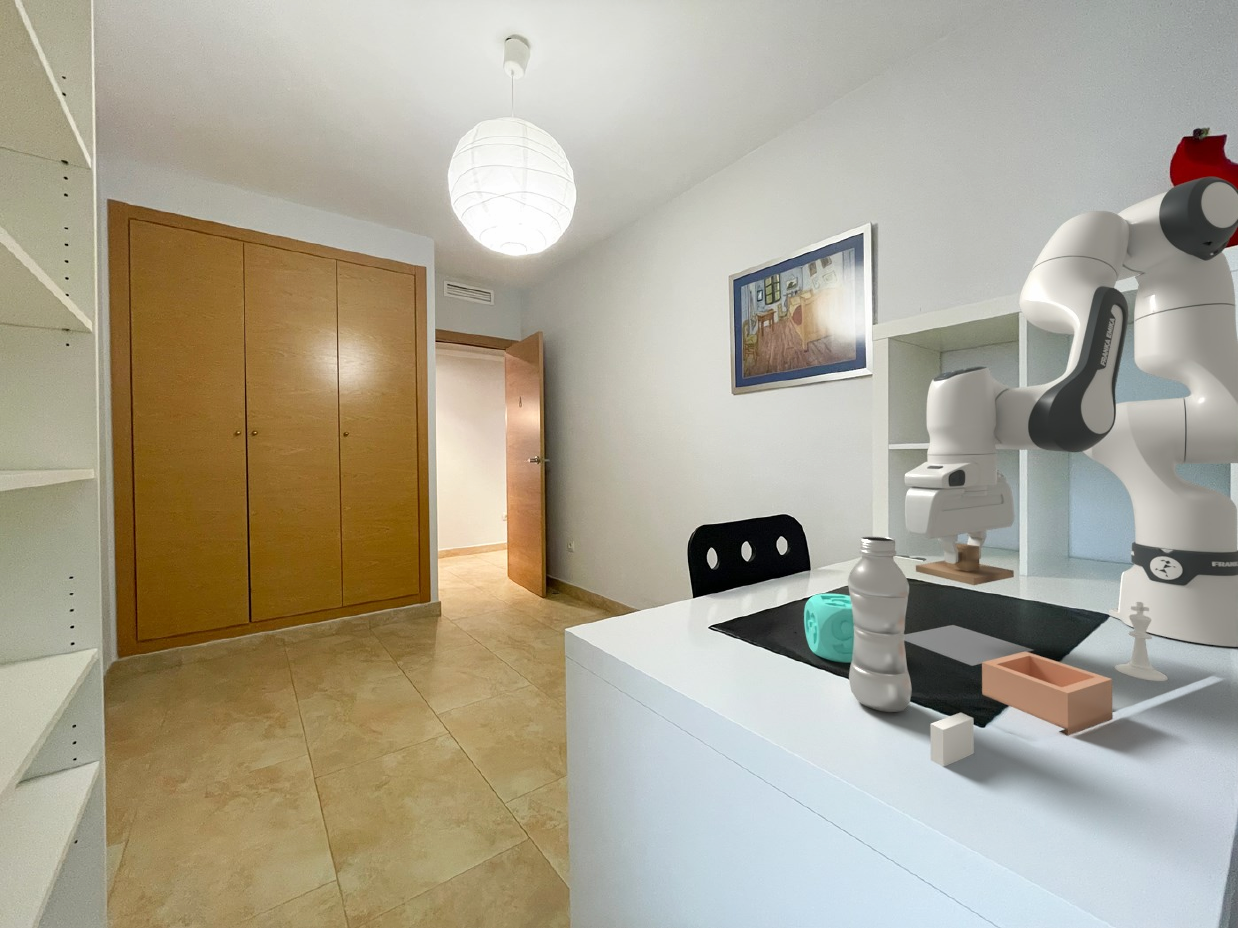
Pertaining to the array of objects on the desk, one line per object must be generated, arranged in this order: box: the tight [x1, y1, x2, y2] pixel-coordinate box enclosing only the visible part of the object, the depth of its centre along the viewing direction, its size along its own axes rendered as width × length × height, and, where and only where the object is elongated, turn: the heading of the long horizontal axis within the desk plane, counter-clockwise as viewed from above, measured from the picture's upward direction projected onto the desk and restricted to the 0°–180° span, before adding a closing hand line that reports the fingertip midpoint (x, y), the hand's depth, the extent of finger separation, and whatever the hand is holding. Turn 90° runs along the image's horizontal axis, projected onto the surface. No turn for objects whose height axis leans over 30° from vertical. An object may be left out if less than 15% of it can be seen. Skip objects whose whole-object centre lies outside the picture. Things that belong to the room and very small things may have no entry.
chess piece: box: [1114, 602, 1169, 682], centre depth 64 cm, size 5×5×10 cm
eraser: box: [930, 712, 975, 768], centre depth 48 cm, size 1×5×4 cm, turn 115°
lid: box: [915, 542, 1015, 586], centre depth 75 cm, size 9×9×4 cm
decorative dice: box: [803, 593, 854, 664], centre depth 74 cm, size 8×8×8 cm
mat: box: [904, 624, 1035, 667], centre depth 75 cm, size 14×12×1 cm
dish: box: [981, 652, 1114, 736], centre depth 56 cm, size 8×8×4 cm
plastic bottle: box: [847, 536, 913, 713], centre depth 58 cm, size 6×7×20 cm
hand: (962, 560), depth 75 cm, fingers closed on lid, 3 cm apart
